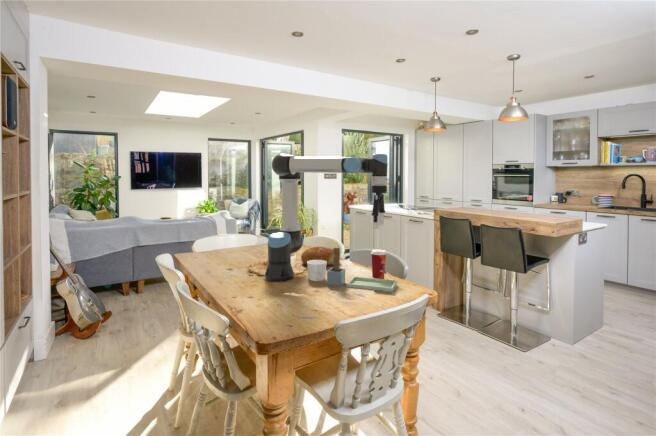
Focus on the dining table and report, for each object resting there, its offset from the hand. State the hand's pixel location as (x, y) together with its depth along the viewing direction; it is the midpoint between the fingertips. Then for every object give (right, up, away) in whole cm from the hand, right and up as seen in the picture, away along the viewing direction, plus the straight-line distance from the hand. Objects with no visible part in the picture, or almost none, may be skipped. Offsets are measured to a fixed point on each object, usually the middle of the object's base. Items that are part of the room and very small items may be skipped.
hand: (378, 227), depth 200 cm
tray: (-4, -29, -8) cm, 30 cm away
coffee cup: (+1, -28, +7) cm, 28 cm away
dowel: (-22, -28, -7) cm, 36 cm away
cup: (-31, -28, +2) cm, 42 cm away
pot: (-22, -29, -7) cm, 37 cm away
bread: (-30, -24, +40) cm, 55 cm away
